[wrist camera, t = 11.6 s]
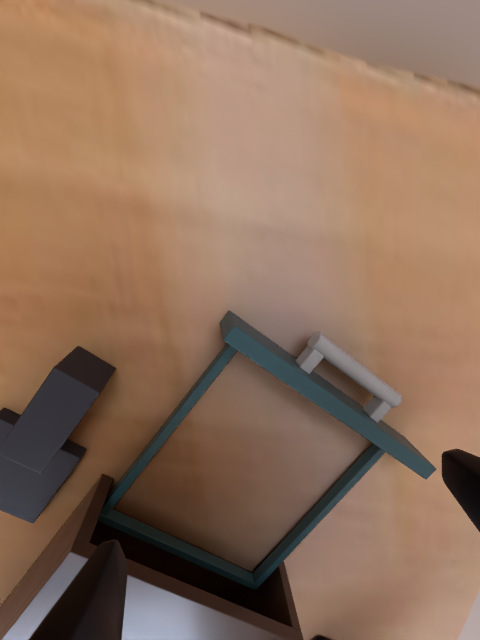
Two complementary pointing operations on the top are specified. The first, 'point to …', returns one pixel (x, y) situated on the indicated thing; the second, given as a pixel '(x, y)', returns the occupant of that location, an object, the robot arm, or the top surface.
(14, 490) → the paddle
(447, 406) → the top surface
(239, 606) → the drawer unit
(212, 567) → the drawer
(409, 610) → the top surface
